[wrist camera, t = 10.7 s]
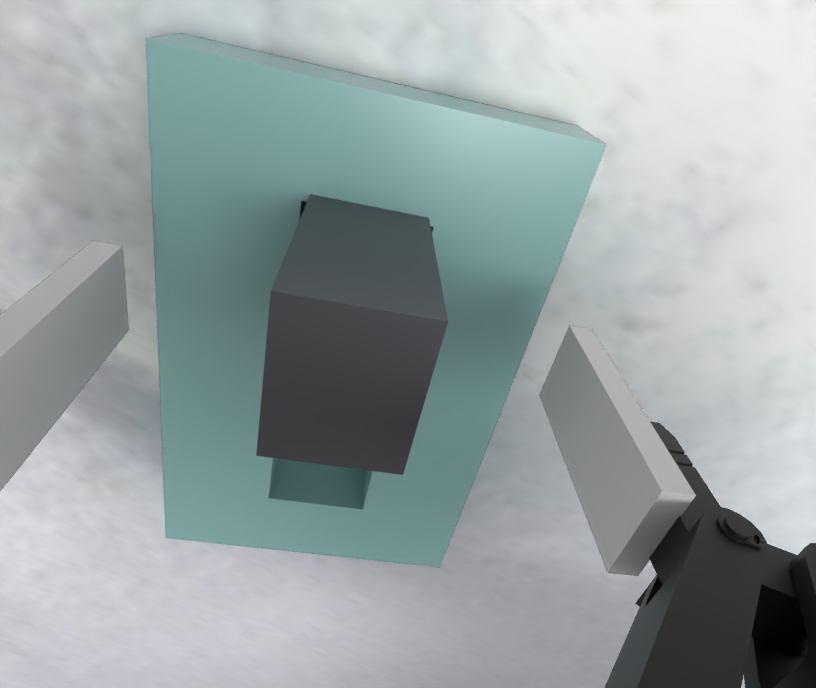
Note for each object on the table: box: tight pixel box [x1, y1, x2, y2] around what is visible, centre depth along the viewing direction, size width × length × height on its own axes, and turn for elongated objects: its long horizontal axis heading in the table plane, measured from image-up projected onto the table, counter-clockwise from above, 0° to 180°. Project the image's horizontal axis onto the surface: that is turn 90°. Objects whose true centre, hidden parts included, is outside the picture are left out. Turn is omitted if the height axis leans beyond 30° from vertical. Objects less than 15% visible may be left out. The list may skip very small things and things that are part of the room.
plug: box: [256, 194, 448, 475], centre depth 17 cm, size 5×4×10 cm
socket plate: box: [146, 33, 607, 567], centre depth 23 cm, size 22×14×3 cm, turn 168°
